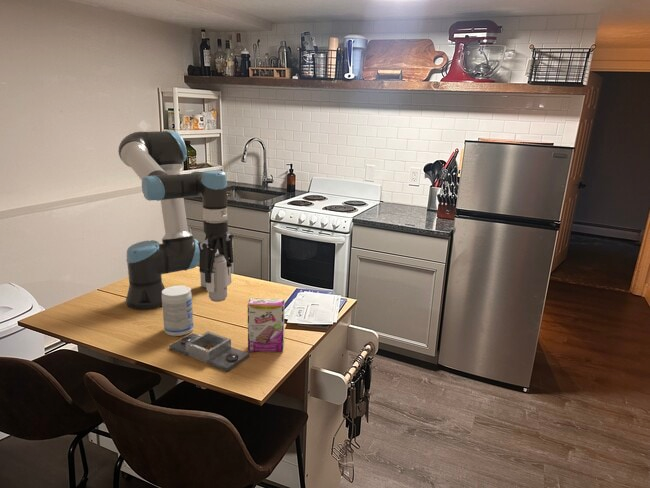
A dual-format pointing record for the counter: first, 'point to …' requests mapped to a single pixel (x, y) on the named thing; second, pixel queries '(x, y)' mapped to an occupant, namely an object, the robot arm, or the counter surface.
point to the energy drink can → (219, 279)
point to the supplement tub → (177, 310)
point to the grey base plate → (210, 350)
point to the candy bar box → (266, 325)
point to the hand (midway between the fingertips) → (217, 287)
